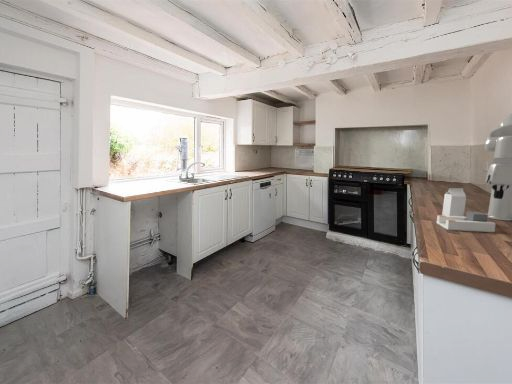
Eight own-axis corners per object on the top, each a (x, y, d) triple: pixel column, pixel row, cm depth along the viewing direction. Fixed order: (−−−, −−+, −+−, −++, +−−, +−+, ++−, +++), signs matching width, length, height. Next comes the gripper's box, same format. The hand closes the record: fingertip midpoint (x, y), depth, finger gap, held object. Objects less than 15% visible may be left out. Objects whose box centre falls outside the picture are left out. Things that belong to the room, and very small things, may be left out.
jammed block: (478, 224, 126) (480, 212, 125) (485, 227, 121) (487, 214, 120) (464, 223, 128) (466, 211, 127) (471, 227, 122) (473, 214, 121)
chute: (478, 225, 129) (479, 216, 128) (494, 232, 118) (496, 222, 117) (436, 223, 134) (437, 214, 133) (448, 229, 122) (449, 220, 121)
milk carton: (462, 222, 134) (467, 189, 131) (448, 222, 135) (452, 189, 132) (455, 219, 141) (459, 187, 137) (441, 218, 142) (445, 187, 139)
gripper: (516, 161, 119) (509, 197, 122) (480, 161, 122) (475, 196, 125) (529, 162, 112) (522, 200, 114) (491, 161, 115) (485, 199, 118)
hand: (497, 198), depth 120 cm, fingers closed
